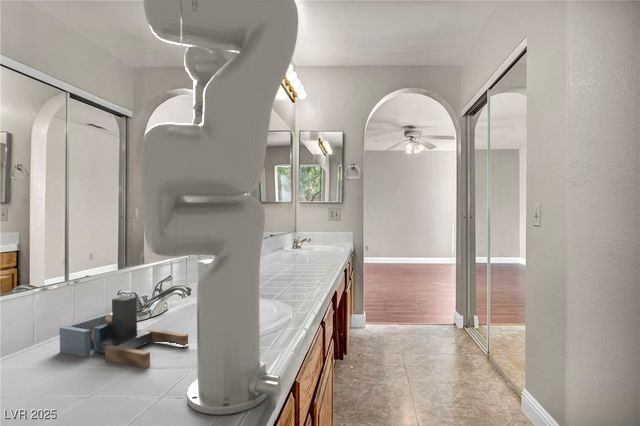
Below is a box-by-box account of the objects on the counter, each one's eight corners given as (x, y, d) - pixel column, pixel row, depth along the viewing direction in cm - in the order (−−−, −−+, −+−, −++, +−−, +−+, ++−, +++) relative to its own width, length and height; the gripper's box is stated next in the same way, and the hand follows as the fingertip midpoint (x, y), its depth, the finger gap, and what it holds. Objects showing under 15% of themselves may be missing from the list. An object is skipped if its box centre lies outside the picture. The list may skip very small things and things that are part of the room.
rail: (188, 346, 79) (188, 334, 79) (144, 368, 68) (144, 354, 68) (151, 340, 83) (151, 328, 83) (105, 360, 72) (105, 347, 72)
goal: (136, 336, 85) (136, 314, 85) (84, 357, 74) (84, 331, 73) (113, 332, 88) (113, 311, 88) (60, 352, 76) (59, 327, 76)
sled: (151, 341, 81) (151, 294, 81) (118, 355, 73) (117, 304, 73) (124, 336, 84) (124, 291, 83) (89, 350, 76) (88, 300, 76)
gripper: (199, 103, 76) (200, 187, 77) (246, 121, 92) (246, 190, 93) (170, 107, 79) (171, 188, 79) (220, 123, 95) (221, 191, 96)
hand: (211, 189), depth 86 cm, fingers open, 9 cm apart
